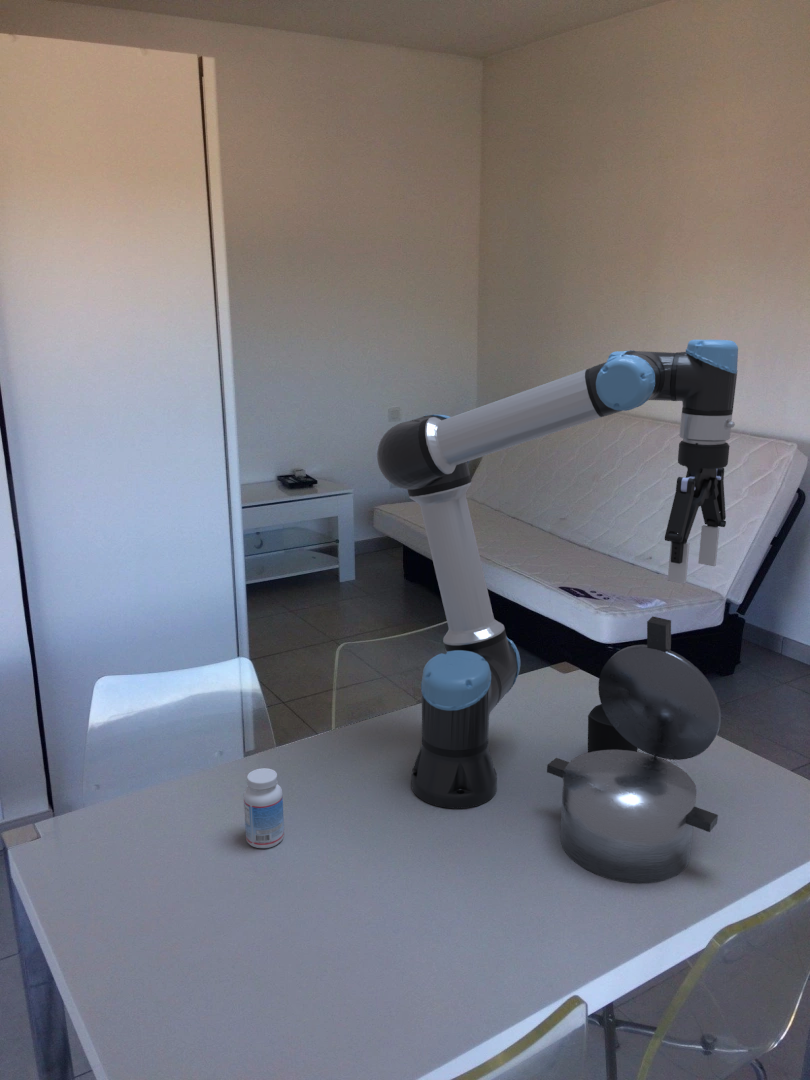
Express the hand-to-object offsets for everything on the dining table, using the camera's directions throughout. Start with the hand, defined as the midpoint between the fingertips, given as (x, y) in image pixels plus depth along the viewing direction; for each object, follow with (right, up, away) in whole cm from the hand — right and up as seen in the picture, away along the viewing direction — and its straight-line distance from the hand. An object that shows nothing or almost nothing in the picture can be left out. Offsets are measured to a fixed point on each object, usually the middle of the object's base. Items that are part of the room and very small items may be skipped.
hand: (692, 573), depth 143 cm
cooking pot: (-12, -43, -4) cm, 44 cm away
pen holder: (-8, -36, +21) cm, 43 cm away
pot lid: (-7, -19, -4) cm, 20 cm away
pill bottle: (-69, -42, -3) cm, 81 cm away
